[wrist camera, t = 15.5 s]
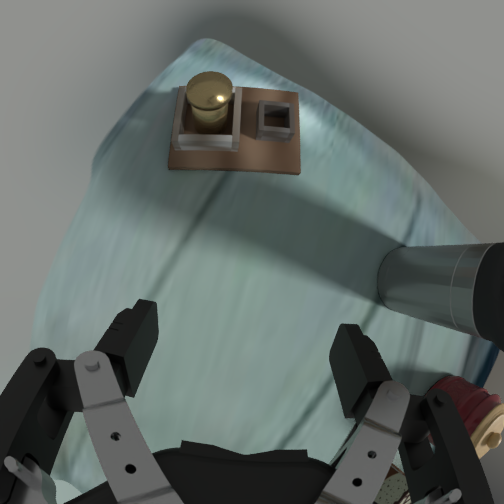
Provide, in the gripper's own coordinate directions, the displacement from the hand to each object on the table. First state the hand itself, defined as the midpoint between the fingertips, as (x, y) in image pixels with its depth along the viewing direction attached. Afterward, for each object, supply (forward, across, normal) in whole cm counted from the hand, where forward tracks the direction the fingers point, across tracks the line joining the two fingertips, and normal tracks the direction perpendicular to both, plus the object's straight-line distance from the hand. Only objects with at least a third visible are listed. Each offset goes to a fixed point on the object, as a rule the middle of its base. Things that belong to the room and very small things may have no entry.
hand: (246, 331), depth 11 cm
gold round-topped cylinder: (+26, +6, -10) cm, 28 cm away
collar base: (+27, +3, -9) cm, 29 cm away
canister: (+14, -38, +28) cm, 49 cm away
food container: (+7, -32, +44) cm, 55 cm away
